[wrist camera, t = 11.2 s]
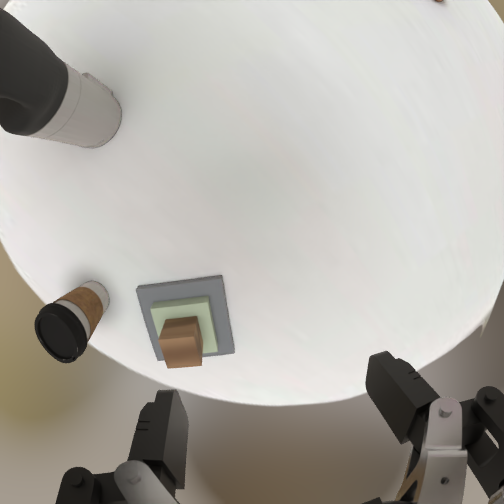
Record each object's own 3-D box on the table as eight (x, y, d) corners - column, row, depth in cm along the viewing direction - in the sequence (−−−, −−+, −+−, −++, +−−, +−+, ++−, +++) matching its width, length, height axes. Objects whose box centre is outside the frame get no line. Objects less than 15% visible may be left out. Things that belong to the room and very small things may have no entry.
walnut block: (165, 319, 40) (158, 339, 34) (197, 315, 40) (193, 336, 34) (173, 346, 41) (167, 368, 35) (203, 343, 41) (201, 365, 36)
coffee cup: (101, 326, 43) (66, 375, 29) (68, 294, 41) (24, 334, 27) (124, 298, 42) (90, 345, 28) (89, 263, 40) (42, 298, 26)
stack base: (138, 286, 42) (131, 295, 38) (221, 275, 43) (221, 284, 39) (159, 356, 46) (155, 369, 42) (234, 348, 47) (235, 361, 43)
